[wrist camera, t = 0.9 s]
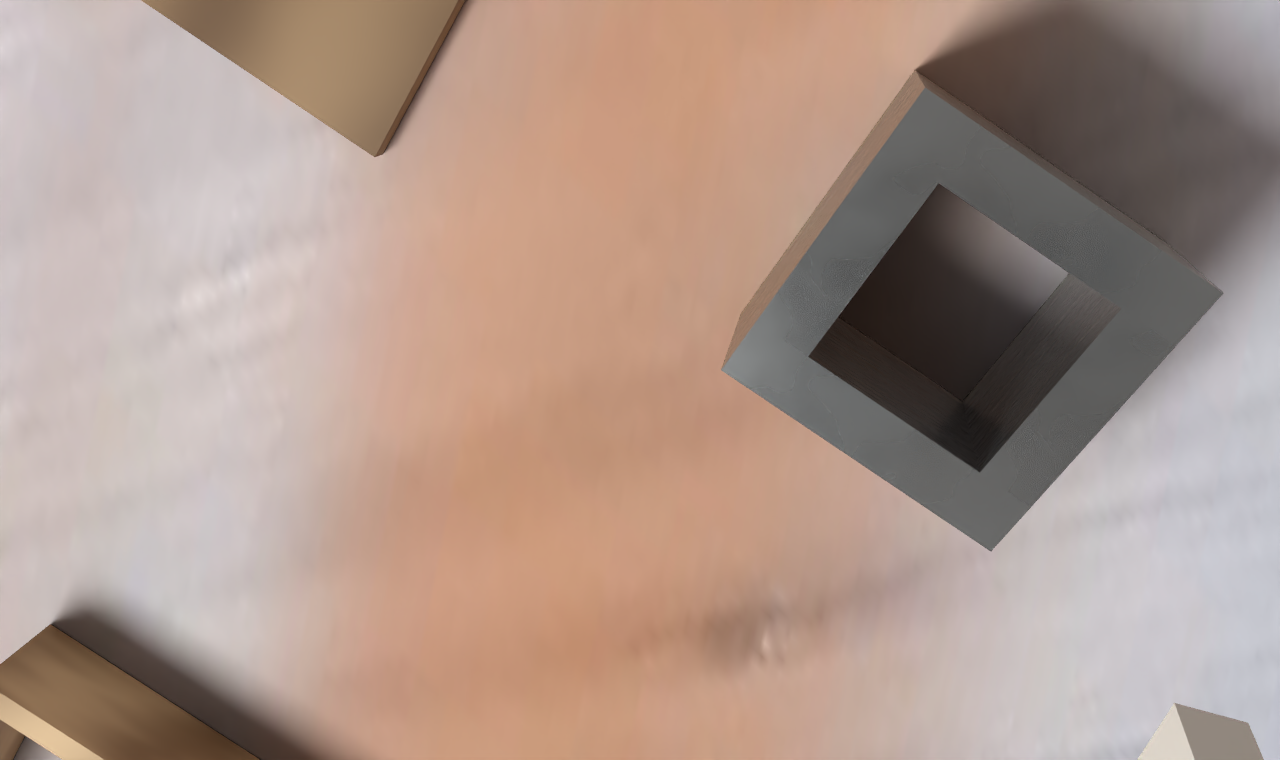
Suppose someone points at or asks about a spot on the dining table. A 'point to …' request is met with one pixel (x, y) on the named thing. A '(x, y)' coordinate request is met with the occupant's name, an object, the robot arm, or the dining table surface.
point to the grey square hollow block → (1027, 370)
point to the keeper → (328, 53)
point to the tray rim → (95, 709)
